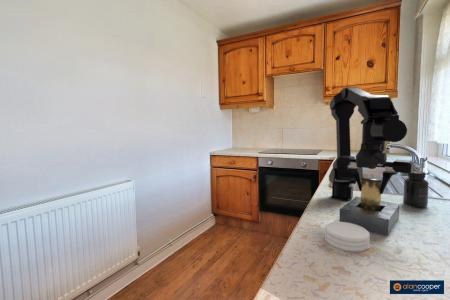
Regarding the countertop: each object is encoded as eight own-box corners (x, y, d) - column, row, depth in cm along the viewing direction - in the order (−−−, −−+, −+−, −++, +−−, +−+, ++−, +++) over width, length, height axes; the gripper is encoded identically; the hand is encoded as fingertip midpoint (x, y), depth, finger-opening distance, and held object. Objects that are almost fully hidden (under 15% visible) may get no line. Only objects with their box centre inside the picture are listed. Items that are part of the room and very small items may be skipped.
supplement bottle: (425, 203, 85) (427, 171, 84) (429, 209, 79) (432, 174, 78) (401, 201, 89) (403, 169, 87) (404, 206, 83) (406, 172, 81)
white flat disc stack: (318, 243, 59) (318, 229, 59) (332, 230, 66) (333, 217, 66) (362, 258, 52) (363, 243, 52) (374, 241, 59) (374, 228, 59)
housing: (339, 223, 70) (339, 208, 69) (355, 209, 81) (356, 196, 80) (387, 236, 61) (388, 219, 61) (398, 218, 73) (399, 204, 72)
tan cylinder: (358, 211, 71) (359, 179, 70) (362, 207, 74) (364, 176, 73) (377, 216, 67) (379, 181, 66) (381, 211, 71) (383, 178, 70)
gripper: (329, 140, 69) (328, 192, 71) (409, 142, 56) (405, 206, 58) (342, 138, 77) (341, 185, 79) (415, 140, 64) (412, 195, 66)
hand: (370, 192), depth 70 cm, fingers closed on tan cylinder, 5 cm apart
